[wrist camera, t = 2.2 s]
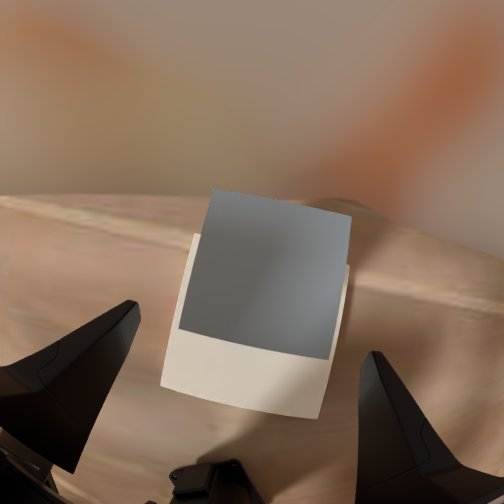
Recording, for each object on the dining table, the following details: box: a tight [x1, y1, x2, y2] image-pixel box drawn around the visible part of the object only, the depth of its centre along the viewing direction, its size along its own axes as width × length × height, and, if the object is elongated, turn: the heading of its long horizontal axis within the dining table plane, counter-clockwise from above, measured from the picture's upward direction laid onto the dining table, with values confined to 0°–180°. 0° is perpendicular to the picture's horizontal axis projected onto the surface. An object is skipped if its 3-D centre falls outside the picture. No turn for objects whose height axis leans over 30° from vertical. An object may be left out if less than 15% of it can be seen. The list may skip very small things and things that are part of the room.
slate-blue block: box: [178, 189, 352, 360], centre depth 14 cm, size 5×5×11 cm
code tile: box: [160, 233, 350, 419], centre depth 20 cm, size 12×12×1 cm
